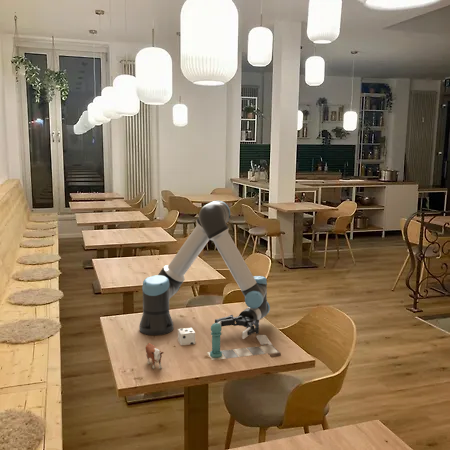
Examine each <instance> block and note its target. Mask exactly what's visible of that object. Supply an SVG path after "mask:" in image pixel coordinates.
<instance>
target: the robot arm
mask: <svg viewBox="0 0 450 450" xmlns="http://www.w3.org/2000/svg"><path fill="white" fill-rule="evenodd" d="M230 218H231V209H230V207H229V205H228V204H227V203H226V202H224V201H221V200H211V201H210V202H209V203H207V204H205V205H204V206H202V207H201V209H200V210H199V213H198V217H197V219H196V220H195V222H196V226H195V227H194V228H193V230H192V232H190V234H189V236H188V237H187V238H186V240H185V241H184V243H183V244H182V246H181V247H180V248H179V250H178V251H177V253H176V254H175V255H174V257H173V258H172V260H171V261H170V263H169V264H166V265H164V266H163V267H162V269H161V270H160V271H159V272H158V274H157V275H156V274H155V275H151V276H147V277H146V278H145V279H144V280H143V281H142V287H141V288H142V315H141V318H140V323H139V326H138V327H139V331H140V333H142V334H144V335H148V336H162V335H165V334H168V333H171V332H173V330H174V321H173V318H172V316H171V313H170V299H171V298H172V297H174V295H175V294H177V293H178V291H179V289H180V288H181V286H182V285H183V283H184V282H185V275H186V273H187V272H188V271H189V269H190V267H191V266H192V265H193V263H194V262H195V261H196V259H197V258H198V256H199V255H200V254H201V252H202V251H203V249H204V248H205V247H206V245H207V244H208V242H209V241H212V242H213V243H214V245H215V247H216V249H217V250H218V253H219V254H220V256H221V258H222V259H223V261H224V262H225V265H226V266H227V268H228V270H229V271H230V273H231V275H232V277H233V279H234V281H235V282H236V284H237V285H238V288H239V289H240V292H242V295H243V296H244V302H245V305H246V306H247V308H245V309H243V310H242V311H241V312H239V314H238V315H237V316H234V315H233V314H231V315H228V316H223V317H219V318H215V319H214V323H219V324H220V325H221V327H222V328H223V327H229V326H233V327H236V326H241V327H245V328H246V329H244V330H243V331H242V332H241V338H242V339H243V340H244V339H246V338H247V337H248V336H252V334H253V335H254V334H256V335H260V334H259V333H260V329H259V328H260V327H259V326H260V320H262V319H263V318H265V317H267V315H268V314H269V313H270V311H271V306H270V303H269V301H268V299H267V298H268V297H267V295H268V293H267V292H268V284H267V283H268V282H267V281H268V279H267V277H265V276H263V275H253V273H252V272H251V270H250V268H249V266H248V265H247V262H246V261H245V260H244V257H243V256H242V254H241V252H240V250H239V248H238V247H237V246H236V244H235V241H234V240H233V238H232V237H231V234H230V233H229V230H230V228H229V226H228V224H227V223H228V222H229V220H230Z"/></svg>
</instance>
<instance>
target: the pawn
mask: <svg viewBox="0 0 450 450" xmlns="http://www.w3.org/2000/svg"><path fill="white" fill-rule="evenodd" d="M222 328H223V327H221V325H220V324H219V323H215V322H214V323H212V324H211V326H210V331H211V332H210V336H211V351H209V352H210V356H211V357H213V358H219V357H221V356H222V355H223V354H222V352H221V351H222V350H221V335H222ZM210 356H209V357H210Z"/></svg>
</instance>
